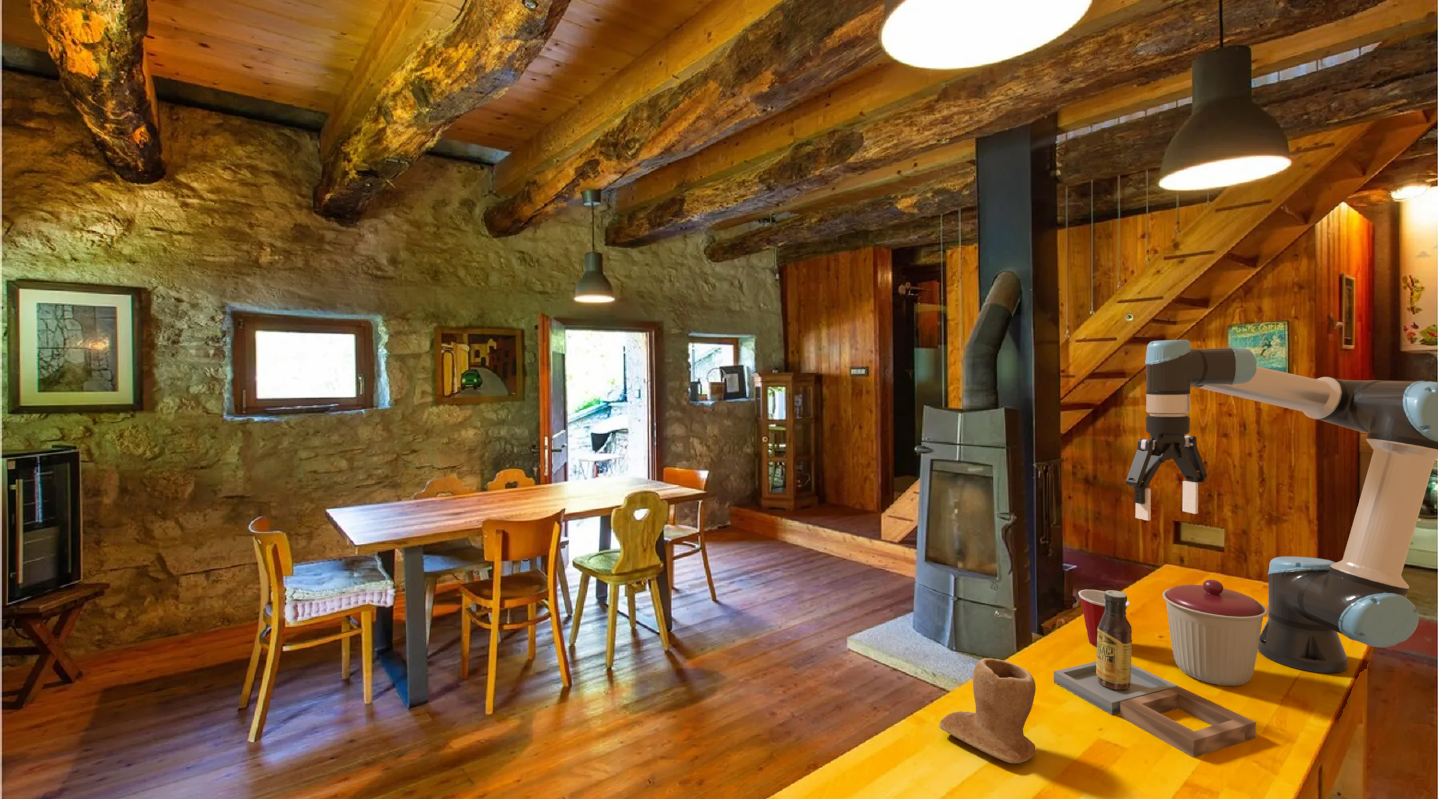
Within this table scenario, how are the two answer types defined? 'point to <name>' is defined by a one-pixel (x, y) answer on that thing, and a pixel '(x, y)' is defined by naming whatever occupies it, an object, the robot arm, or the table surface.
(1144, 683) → the tray
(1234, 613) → the canister
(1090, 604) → the plastic cup
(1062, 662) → the table surface
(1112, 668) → the sauce bottle
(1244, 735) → the bottle stand
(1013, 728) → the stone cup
